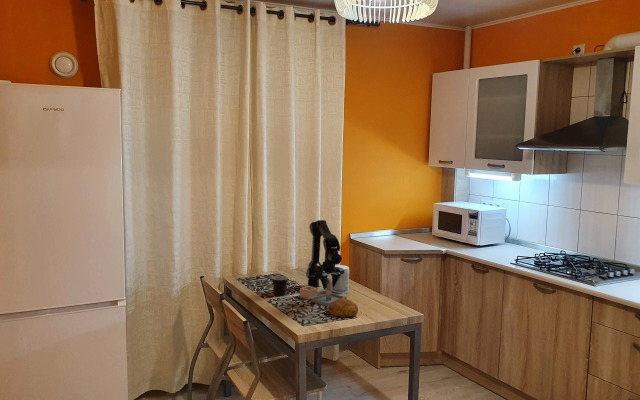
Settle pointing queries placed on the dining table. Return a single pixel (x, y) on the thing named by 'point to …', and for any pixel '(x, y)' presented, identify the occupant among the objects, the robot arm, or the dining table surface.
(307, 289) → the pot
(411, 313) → the dining table surface
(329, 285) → the dowel
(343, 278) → the supplement tub
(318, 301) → the tray
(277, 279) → the coffee mug
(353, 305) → the croissant
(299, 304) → the dining table surface
